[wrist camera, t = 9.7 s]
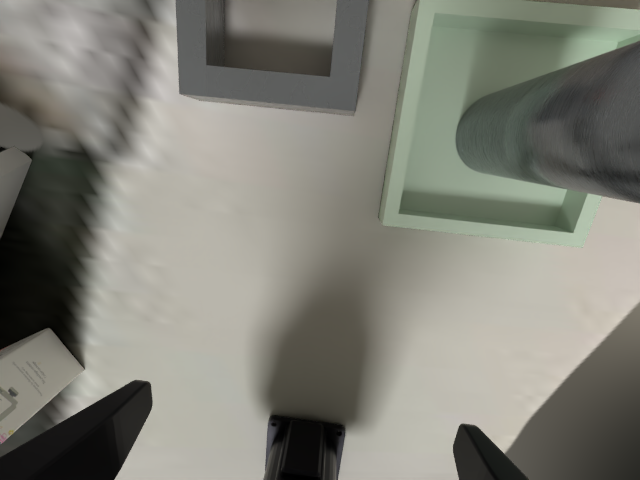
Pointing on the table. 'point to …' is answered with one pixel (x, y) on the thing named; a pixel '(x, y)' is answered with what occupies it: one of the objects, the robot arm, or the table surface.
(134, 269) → the table surface
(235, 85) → the frame
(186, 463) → the table surface
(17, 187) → the grey arched block
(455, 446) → the robot arm
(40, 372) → the ink cartridge box
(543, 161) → the grey and gold cylinder
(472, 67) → the tray
